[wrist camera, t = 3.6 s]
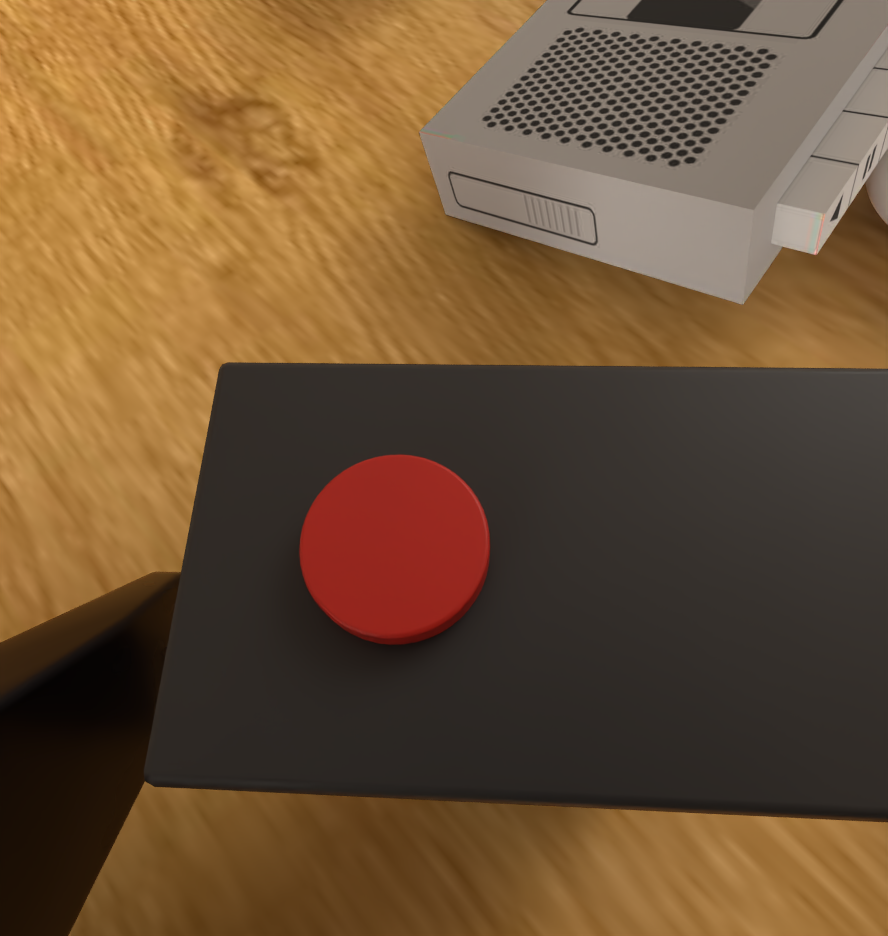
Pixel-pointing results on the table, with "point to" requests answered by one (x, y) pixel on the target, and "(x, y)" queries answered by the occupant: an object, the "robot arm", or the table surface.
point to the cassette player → (671, 132)
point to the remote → (537, 589)
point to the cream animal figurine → (879, 187)
